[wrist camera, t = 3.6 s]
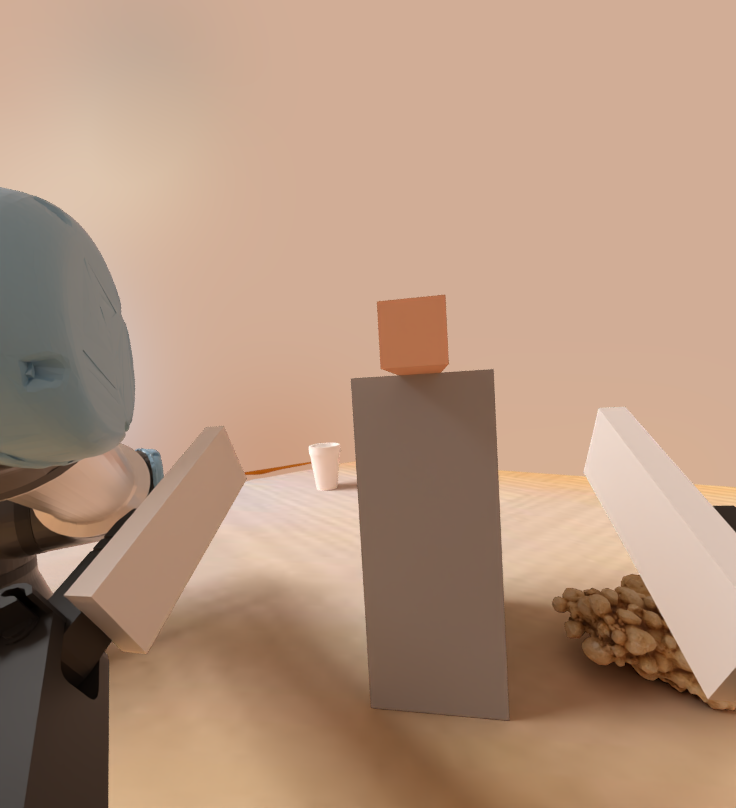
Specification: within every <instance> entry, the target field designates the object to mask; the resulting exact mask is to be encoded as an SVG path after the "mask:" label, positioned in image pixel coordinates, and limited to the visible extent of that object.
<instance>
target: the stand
mask: <svg viewBox="0 0 736 808" xmlns="http://www.w3.org/2000/svg"><path fill="white" fill-rule="evenodd" d="M351 389H352V404H353V421H354V437H355V454H356V470H357V487H358V503H359V520H360V536H361V552H362V569H363V585H364V601H365V618H366V634H367V650H368V667H369V683H370V699H371V708H379V709H390V710H400V711H411V712H422V713H433V714H444V715H454V716H465V717H476V718H487V719H498V720H509V702H508V680H507V657H506V635H505V613H504V591H503V569H502V547H501V525H500V502H499V480H498V458H497V436H496V416H495V415H496V414H495V393H494V371H493V369H491V370H475V371H461V372H445V373H429V374H414V375H399V376H384V377H368V378H354V379H351Z"/></svg>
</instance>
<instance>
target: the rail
mask: <svg viewBox="0 0 736 808" xmlns="http://www.w3.org/2000/svg"><path fill="white" fill-rule="evenodd" d="M445 299H446V298H445V295H437V296H428V297H417V298H407V299H398V300H388V301H379V302H377V312H378V329H379V345H380V346H379V347H380V364H381V369H383V370H386V371H388V372H391V373H394V374H396V375H414V374H429V373H441V372H442V371H443V370H444V369H445V367H446V366H447V365H448V364H449V360H448V338H447V318H446V300H445Z"/></svg>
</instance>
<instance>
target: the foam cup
mask: <svg viewBox="0 0 736 808" xmlns="http://www.w3.org/2000/svg"><path fill="white" fill-rule="evenodd" d="M309 455H310V456H311V462H312V467H313V472H314V477H315V483H316V487H317V490H321V491H327V490H333V489H336V488H337V485H338V471H339V455H340V444H339V443H320V444H314V445H310V446H309Z"/></svg>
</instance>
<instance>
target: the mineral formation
mask: <svg viewBox="0 0 736 808" xmlns="http://www.w3.org/2000/svg"><path fill="white" fill-rule="evenodd" d="M552 606H553V608H554V609H555V610H556V611H557V612H560V613H561V612H566V611H568V612H570V613H571V614H570V616H571V617H569V620H568V621H567V622H565V623H564V625H565V630H566V634H567V637H569V638H580V637H581V636H582V635H583V634H584V633H585V632H586V633H589V635H590V637H588V638H586V639H585V640H584V642H583V643H582V649H583V651H584V654H585V655H586V656H587V657H588V658H589V659H591V660H592V661H594V662H595V663H597V664H598V665H608V664H610V663H612V662H615V663H616V664H617V665H618V666H625V662H626V663H629V664H631V665H632V666H633V668H634V669H635V670H636V671H637V672H638V674H640V675H641V676H642V677H643V678H645V679H647V680H653V681H654V680H655V679H657V678H660V679H661V680H662V681H664V682H667V683H669V684H670V685H671V686H672V687H674V688H675V689H677V690H678V691H679V692H683V691H685V690H686V689H688V690H689V692H690V693H691V694H697V695H698V696H699V697H700V698H701V699H702V700H703V701H704V702H706V703H707V704H708V705H709V706H710V707H711V708H713V709H721V710H723V709H729V710H733V711H734V710H735V708H736V702H733V701H721V700H708V699H707V697H706V695H705V693H704V691H703V690H702V688H701V686H700V684H699V682H698V680H697V679H696V677H695V675H694V673H693V671H692V670H691V668H690V666H689V664H688V662H687V660H686V659H685V657H684V655H683V653H682V651H681V649H680V648H679V646H678V644H677V642H676V640H675V638H674V637H673V635H672V633H671V631H670V629H669V627H668V626H667V624H666V622H665V620H664V618H663V617H662V615H661V613H660V611H659V609H658V607H657V606H656V604H655V602H654V600H653V598H652V596H651V595H650V593H649V591H648V589H647V587H646V585H645V584H644V582H643V580H642V578H641V576H640V575H634V574H631V575H628V576H624V577H623V579H622V581H621V587H617V588H616V589H615V591H614V590H611V589H609V588H605V589H602V591H601V592H600V591H598V590H596V589H594V588H591V589H590V590H584V591H583V592H582V591H581V590H577V589H574V588H566V590H565V591H564V593H563V598H561V597H555V598H554V599H553V602H552Z"/></svg>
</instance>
